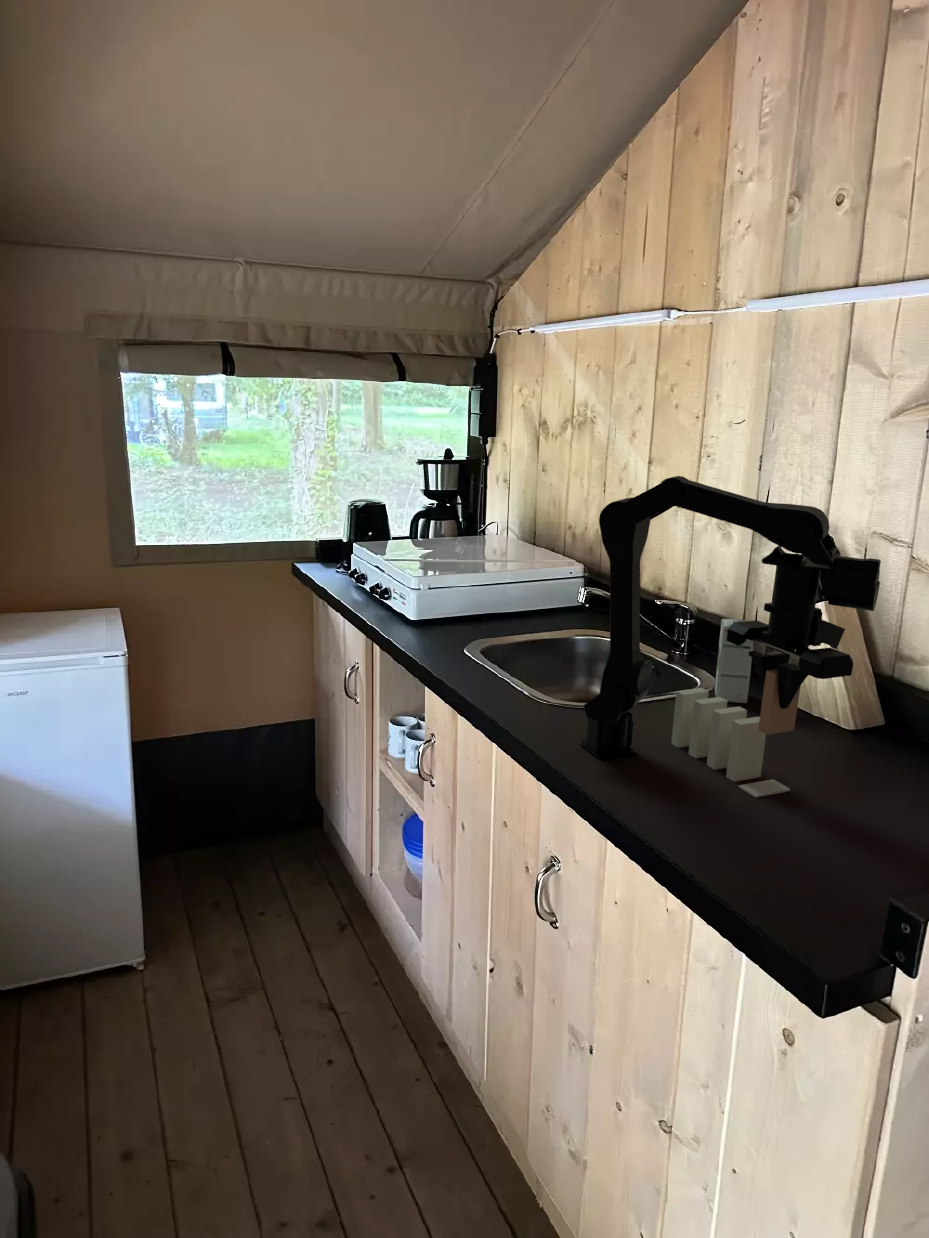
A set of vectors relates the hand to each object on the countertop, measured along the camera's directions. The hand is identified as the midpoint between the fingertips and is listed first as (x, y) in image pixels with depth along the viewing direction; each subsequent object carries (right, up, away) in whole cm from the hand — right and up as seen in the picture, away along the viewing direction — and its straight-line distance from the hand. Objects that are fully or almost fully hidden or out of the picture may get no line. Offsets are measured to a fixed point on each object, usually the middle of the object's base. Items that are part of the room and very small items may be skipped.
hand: (778, 705), depth 129 cm
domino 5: (0, -4, +1) cm, 4 cm away
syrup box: (+5, -3, +42) cm, 42 cm away
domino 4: (-3, -11, +7) cm, 14 cm away
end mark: (-1, -12, +3) cm, 13 cm away
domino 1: (-8, -8, +19) cm, 22 cm away
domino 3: (-5, -10, +11) cm, 16 cm away
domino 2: (-7, -9, +15) cm, 19 cm away
